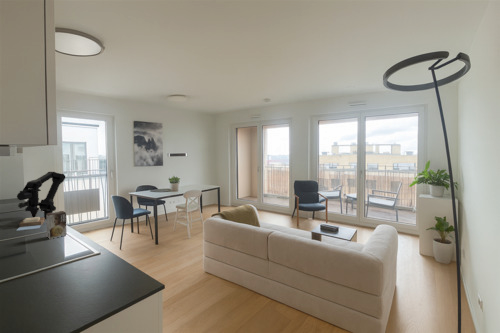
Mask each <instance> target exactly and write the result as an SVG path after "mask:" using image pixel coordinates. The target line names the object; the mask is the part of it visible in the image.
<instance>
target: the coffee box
mask: <svg viewBox="0 0 500 333" xmlns="http://www.w3.org/2000/svg"><path fill="white" fill-rule="evenodd" d="M45 222H46V238H47V237H48V238H49V239H48V238H47V239H48V240H53V239H52V238H55V239H57V238H56V237H59V238H61V237H60V236H63V237H66V236H65V235H68V234H67V212H66V211H64V210H60V211H53V212H52V213H46V219H45Z"/></svg>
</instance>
